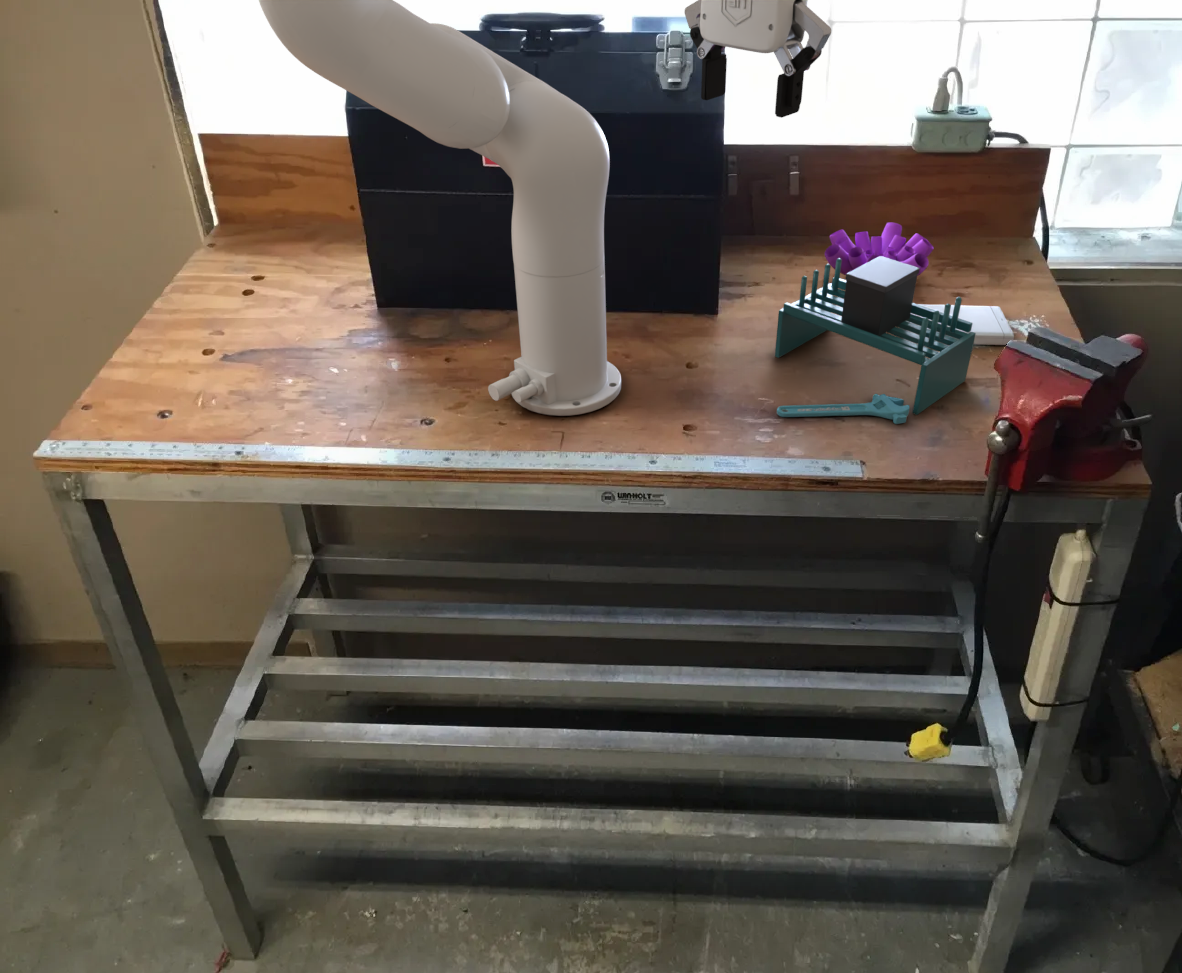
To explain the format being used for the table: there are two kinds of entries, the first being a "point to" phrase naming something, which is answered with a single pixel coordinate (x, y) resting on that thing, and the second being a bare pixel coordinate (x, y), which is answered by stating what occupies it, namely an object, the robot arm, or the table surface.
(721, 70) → the robot arm
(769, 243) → the table surface
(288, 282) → the table surface
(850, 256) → the purple tubular cluster
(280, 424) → the table surface
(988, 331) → the hard drive
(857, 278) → the black box
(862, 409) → the adjustable wrench
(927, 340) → the rack
